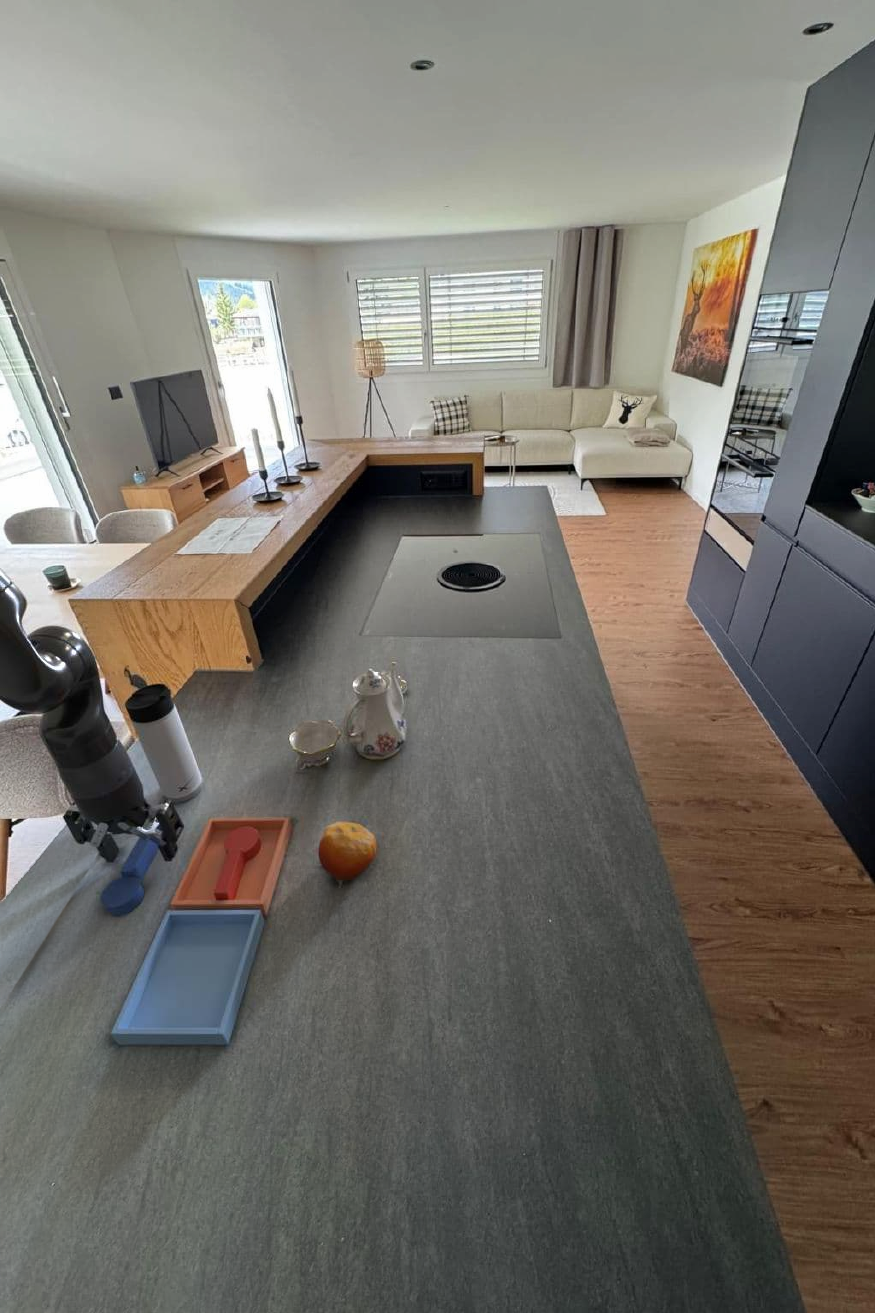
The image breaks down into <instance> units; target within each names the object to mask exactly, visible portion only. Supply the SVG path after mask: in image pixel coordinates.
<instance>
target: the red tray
mask: <svg viewBox="0 0 875 1313" xmlns="http://www.w3.org/2000/svg"><path fill="white" fill-rule="evenodd" d="M241 827H252V828H254V829H255V830H256V831H257V832H258V835H259V838H260V841H261V849H260V851H259V853H258V854H257V855H256V856H255V857H254V858H252V859H251V860H249V861H246V864H245V868H244V871H243V874H242V877H241V880H240V884H239V887H238V890H237V893H236V897H235V900H216V898H215V896H214V894H213V893H214V890H215V887H216V885H217V882H218V879H219V876H220V873H221V870H222V867H223V864H224V862H225V859H226V856H227V853H226V850H225V848H224V842H225V839H226V837H227V836H228V835H229V834H230V833H231V832H232V831H234V830H236V829H238V828H241ZM292 831H293V826H292V821H291V818H290V817H289V816H287V817H286V816H285V817H283V816H282V817H281V816H279V817H214V818H212V817H211V818H209V819H208V821H207V823H206V825H205V828H204V829H203V831H202V834H201V836H200V838H199V840H198V843H197V845H196V847H195V849H194V851H193V853H192V856H191V858H190V860H189V862H188V864H187V866H186V868H185V871H184V873H183V875H182V877H181V879H180V882H179V884H178V886H177V888H176V891H175V893H174V894H173V896H172V899H171V901H170V903H169V906H170V908H171V911H182V910H261V912H262V915H263V916H268V912H269V909H270V905H271V902H272V898H273V895H274V893H275V892H274V891H275V888H276V885H277V882H278V879H279V875H280V871H281V868H282V865H283V863H284V862H283V861H284V858H285V854H286V851H287V848H288V844H289V841H290V838H291V835H292Z"/></svg>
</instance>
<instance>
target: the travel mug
mask: <svg viewBox="0 0 875 1313" xmlns="http://www.w3.org/2000/svg"><path fill="white" fill-rule="evenodd" d="M124 707H125V710H126V712H127V714H128V716H129V719H130V722H131V724H132V727H133V730H134V731H135V734H136V736H137V738H138V741H139V744H140V746H141V747H142V750H143V752H144V754H145V756H146V759H147V761H148V763H149V766H150V768H151V770H152V773H153V775H154V777H155V780H156V782H157V785H158V787H159V789H160V791H161V794H162V796H163V798H164V800H165V799H168V800H171V801H172V803H175V804H176V803H182V802H186V801H189V800H191V799H193V798H194V797H195V796H197V795H198V794H199V793H200V792H201V791H202V790H203V786H204V780H203V776H202V774H201V771H200V769H199V766H198V764H197V761H196V758H195V755H194V752H193V750H192V747H191V744H190V741H189V739H188V736H187V733H186V731H185V728H184V725H183V723H182V720H181V717H180V715H179V712H178V709H177V707H176V704H175V702H174V700H173V696H172V690H171V689H170V688H169V686H168V685H166V684H164V683H152V684H149V685H145V686H143V687H141V688H139V689H137V690H135V691H134V692H133V693H131V696H129V697H128V698H127V699H126V701H125V702H124Z"/></svg>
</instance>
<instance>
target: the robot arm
mask: <svg viewBox="0 0 875 1313" xmlns="http://www.w3.org/2000/svg"><path fill="white" fill-rule="evenodd" d="M27 607H28V600H27V598H26V596H25V594H24V593H23V592H22V590H21V589H20V588H19V587H18V586H17V585H16V583H14V582H13V581H12V579H11V578H10V577H9V576H8V575H7V574H6V573H5V571H3V569H2V568H1V567H0V702H2V703H3V704H5V705H7V706H8V707H10V708H12V709H14V710H17V711H18V712H19V711H20V712H22V713H27V714H33V715H35V714H37V715H39V714H42V715H41V718H40V719H39V723H38V734H39V737H40V739H41V742H42V743H43V745H44V746H45V748H46V750H47V752H48V754H49V755H50V757H51V759H52V761H53V763H54V765H55V766H56V770H57V772H58V775H59V778H60V780H61V781H62V784H63V785H64V787H65V789H66V790H67V793H68V794H69V795H70V798H71V799H72V803H71V804H70V805H69V807H68V809H66V811H65V813H64V814H63V815H62V818H63V820H64V822H65V824H66V826H67V828H68V830H69V832H70V834H71V836H72V837H73V839H74V841H75V842H76V844H79V845H85V843H89V845H90V846H92V848H95V849H96V850H97V852H98V853H99V855H100V857H101V858H102V859H103V860H105V862H106V863H110V864H111V863H114V862H115V860H116V859H117V857H118V855H119V854H120V848H119V846H118V845H117V842H116V841H115V839H114V837H113V835H122V834H126V835H135V836H136V837H138V838H139V837H140V838H141V839H143V840H147V839H149V840H151V841H153V842H154V843H156V844H158V848H159V849H158V850H159V852H160V855H161V857H162V859H163V860H164V862H165V863H171V862H172V861H173V859H175V857H176V856H177V853H178V852H179V846H178V844H177V842H178V841H179V838H180V836H181V835H182V832H183V830H184V829H185V825H184V823H183V821H182V819H181V817H180V815H179V813H178V811H177V809H176V807H175V805H174V802H172V801H171V800H168V799H165V798H164V799H163V800H162V802H161V804H160V803H159V804H152V803H150V802H149V801H148V800H147V799H146V798H145V794H144V786H143V784H142V781H141V779H140V776H139V775H138V773H137V770H136V768H135V766H134V764H133V761H132V760H131V757H130V755H129V752H128V751H127V749H126V748H125V746H124V744H123V743H122V742H121V740H120V739H119V737H118V735H117V733H116V731H115V729H114V726H113V725H112V722H111V721H110V718H109V716H108V714H107V713H106V710H105V705H104V704H105V703H104V695H103V688H102V683H101V677H100V672H99V667H98V663H97V660H96V658H95V655H94V652H93V650H92V649H91V647H90V646H89V644H88V643H87V642H86V641H85V639H84V638H82V636H80V634H78V633H77V632H75V631H73V630H72V629H69V628H68V627H64V626H60V625H45V626H41V627H38V628H37V629H35V630H33V631H32V632H30V633H29V634H27V633H26V631H25V629H24V626H23V618H24V616H25V613H26V610H27ZM147 821H149V824H148V826H147V828H146V829H145V828H143V827H144V825H145V823H146V822H147ZM93 824H94V825H96V826H97V827H96V828H95V827H94V825H93ZM156 829H157V830H158V831H159V832H161V833H160V834H158V833H157V832H156ZM155 832H156V833H155Z"/></svg>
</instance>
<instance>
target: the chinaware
mask: <svg viewBox="0 0 875 1313" xmlns="http://www.w3.org/2000/svg"><path fill="white" fill-rule="evenodd" d="M396 667H397V663H396V662H391V663H390V664H389V666H388V669H387V672H386V671H380V672H377V671H374V670H373V669H372V668H369V669H368V670H367V671H366V673H364V674H361V675H359V676H357V677H356V678H354V681H353V682H352V689H353V690H354V692H355V694H356V700H354V701H352V703H351V704H350V705H349V706H348V708H347V710H346V711H345V714H344V715H343V716H344V717H343V719H342V732H343V734H344V735H345V736H346V740H347V741H348V743H350V744H351V745H352V746H353V747H354V748H355V750H356V752H357V753H358V754H359V755H360V756H361V757H362V758H364V759H366V760H370V761H383V760H384V761H385V760H387V759H390V758H392V757H394V756H396V755H397V754H398V753H399V752H401V749H402V748H403V745H404V744H405V742H406V737H407V733H408V730H409V724H408V722H407V721H406V720H405V719H404V718H403V717H402V716H403V713H404V710H405V708H404V707H405V702H404V700H405V699H404V695H403V694H405V693H406V692H407V691H408V688H409V685H408V682H407V681H406V680H403V678H402V677H401V676H399V675H396ZM403 683H405V688H404V690H403ZM355 709H357V710H356V714H355V716H354V717H353V719H352V722H351V725H350V727H349V721H350V719H351V716H352V713H353V712H354V710H355ZM341 736H342V733H341V730H340V729H339V728H337V727H336V725H335V724H334V722H333V721H331V719H323V720H320V721H318V722H317V721H312V720H309V721H308V720H307V721H303V722H302V723H301V724H299V726H298V727H297V728H296V729H295V731H294V732H291V733H290V734H289V736H288V737H287V740H288V743H289V745H290V746H291V748H292V749H293V750H294V752H296V753H297V757H296V758H295V761H294V768H295V770H296V771H298V772H302V771H303V770H305V768H306V767H308V768H311V767H312V766H317V767H319V766H322V765H324V764H325V763H329V758H330V757H331V756H332V754H333V753H334V752H335V749H336V747H337V742H338V740H339V739H340V737H341ZM300 759H303V760H305V761H306V762H304V764H303V766H302V767H301V768H299V761H300Z"/></svg>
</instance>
